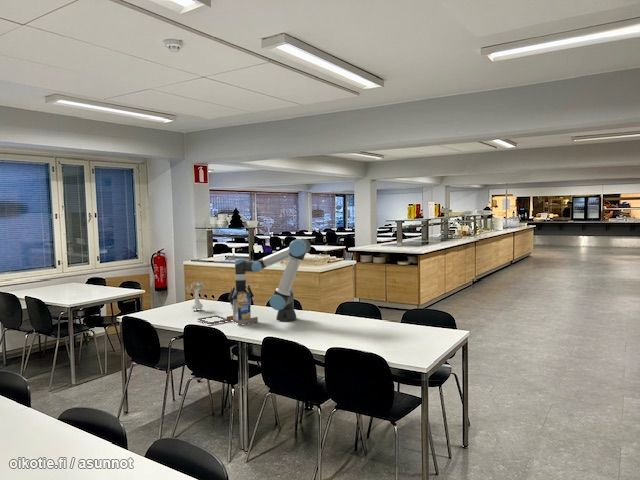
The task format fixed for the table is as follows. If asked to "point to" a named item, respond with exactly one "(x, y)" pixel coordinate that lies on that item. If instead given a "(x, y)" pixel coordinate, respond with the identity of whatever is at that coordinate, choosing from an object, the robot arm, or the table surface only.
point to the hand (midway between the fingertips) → (241, 307)
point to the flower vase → (196, 294)
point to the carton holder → (244, 320)
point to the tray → (214, 321)
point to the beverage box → (241, 306)
